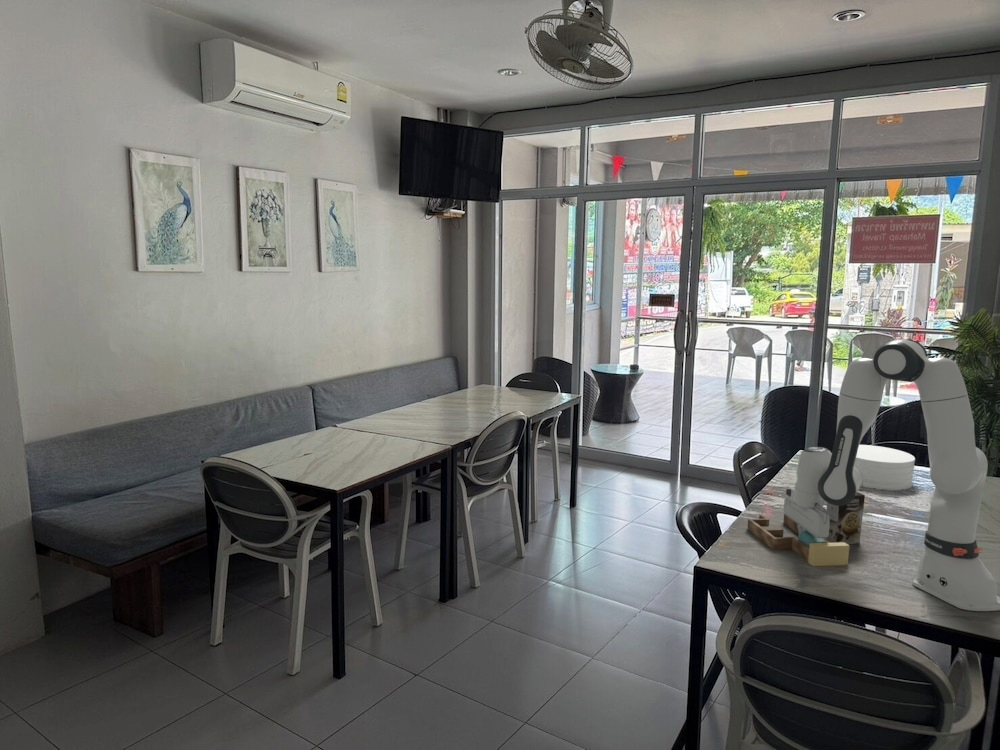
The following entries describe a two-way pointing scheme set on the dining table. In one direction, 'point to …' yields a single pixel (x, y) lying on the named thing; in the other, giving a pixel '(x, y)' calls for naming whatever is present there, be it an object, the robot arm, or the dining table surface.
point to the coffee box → (846, 521)
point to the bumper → (828, 554)
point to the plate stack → (885, 467)
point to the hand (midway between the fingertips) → (802, 539)
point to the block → (809, 538)
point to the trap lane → (778, 535)
